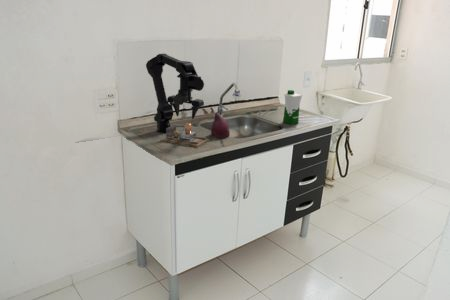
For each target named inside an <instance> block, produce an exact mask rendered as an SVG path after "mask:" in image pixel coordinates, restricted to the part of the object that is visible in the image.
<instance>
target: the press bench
mask: <svg viewBox="0 0 450 300" xmlns="http://www.w3.org/2000/svg"><path fill="white" fill-rule="evenodd" d="M180 132H181V131H178V130H177V125H170V127H169V128H166V133H165V136H166V137H165V138H163V142H165V143H171V144H175V145H181V146H187V147H193V148H196V149H197V148H198V149H199V148H200V147H201V146H203V145H206V144H207V143H209V142H210V139H209V138H207V137H203V136H202V137H201V136H197V135H196V139H194V140H192V141H188V140H182V139H179V133H180Z"/></svg>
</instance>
